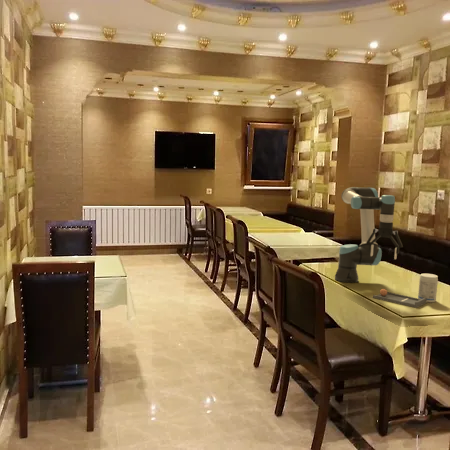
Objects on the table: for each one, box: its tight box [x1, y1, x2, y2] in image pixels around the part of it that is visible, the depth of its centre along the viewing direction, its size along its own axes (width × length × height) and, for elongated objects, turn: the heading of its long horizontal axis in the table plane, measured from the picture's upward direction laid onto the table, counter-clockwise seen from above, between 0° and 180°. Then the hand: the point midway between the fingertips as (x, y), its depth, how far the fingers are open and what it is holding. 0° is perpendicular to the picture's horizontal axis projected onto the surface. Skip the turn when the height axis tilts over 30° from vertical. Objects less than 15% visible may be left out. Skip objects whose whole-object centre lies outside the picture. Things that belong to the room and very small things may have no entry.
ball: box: [379, 288, 388, 296], centre depth 276 cm, size 4×4×4 cm
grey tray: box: [372, 291, 427, 309], centre depth 270 cm, size 25×14×3 cm, turn 46°
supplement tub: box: [417, 273, 439, 303], centre depth 271 cm, size 10×10×15 cm
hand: (383, 257), depth 281 cm, fingers open, 13 cm apart
